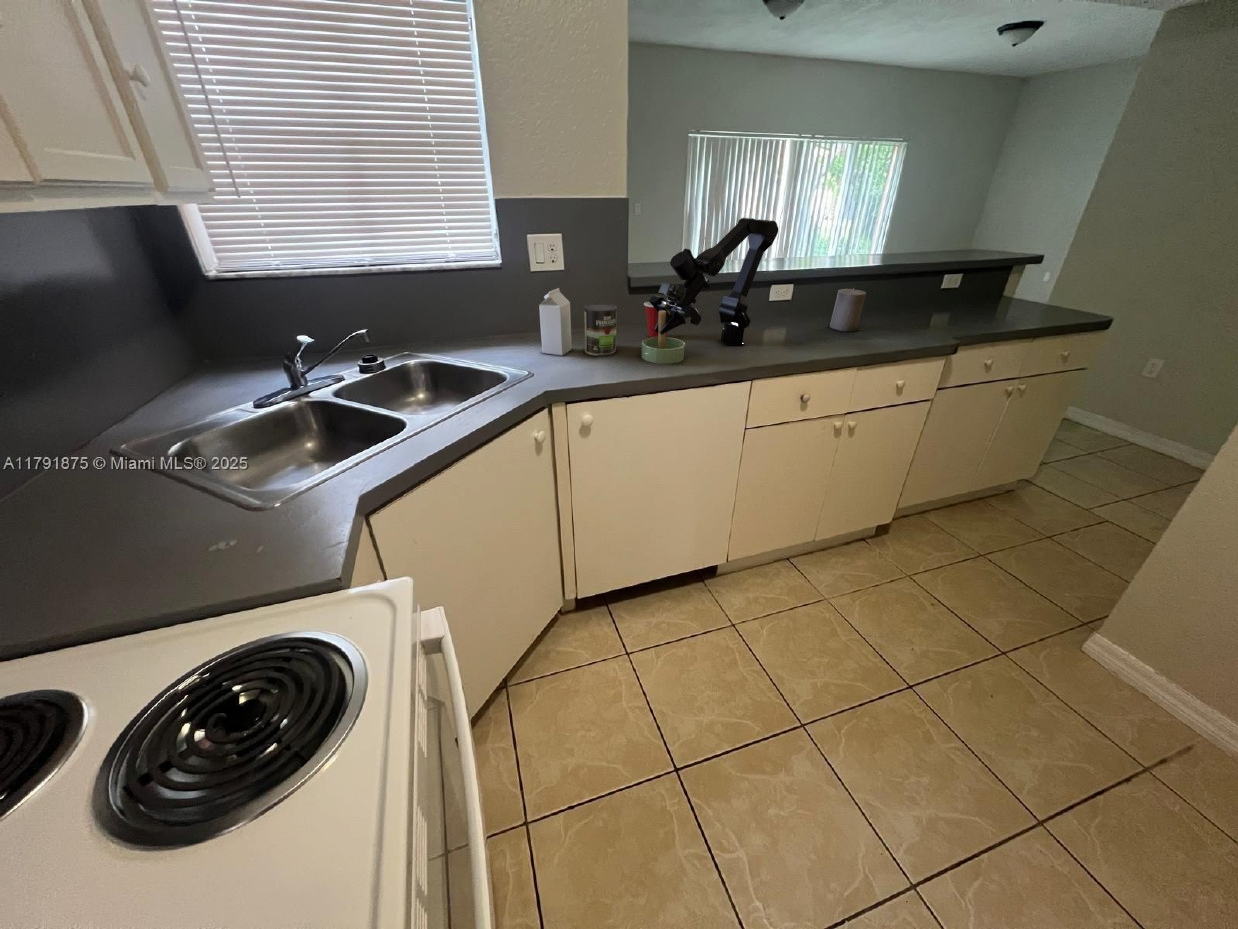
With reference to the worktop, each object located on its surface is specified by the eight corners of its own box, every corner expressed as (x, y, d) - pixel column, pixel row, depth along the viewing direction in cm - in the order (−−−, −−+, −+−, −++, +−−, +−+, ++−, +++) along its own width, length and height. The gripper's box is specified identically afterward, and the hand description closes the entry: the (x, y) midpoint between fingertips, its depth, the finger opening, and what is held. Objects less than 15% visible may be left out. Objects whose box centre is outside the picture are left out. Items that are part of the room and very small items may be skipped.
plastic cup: (672, 334, 176) (675, 299, 170) (672, 342, 167) (675, 306, 161) (643, 332, 177) (644, 298, 171) (641, 341, 167) (642, 305, 161)
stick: (668, 352, 153) (669, 308, 145) (670, 358, 149) (672, 313, 141) (652, 353, 153) (652, 309, 145) (654, 359, 149) (655, 314, 141)
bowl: (679, 351, 158) (680, 336, 155) (687, 365, 147) (688, 349, 144) (638, 352, 157) (639, 336, 154) (644, 366, 146) (644, 349, 143)
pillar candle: (853, 326, 190) (864, 286, 183) (858, 332, 182) (869, 291, 174) (827, 324, 192) (837, 284, 184) (831, 330, 184) (841, 289, 176)
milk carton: (571, 349, 158) (569, 288, 148) (562, 356, 152) (559, 293, 142) (551, 347, 160) (548, 286, 150) (542, 353, 154) (538, 291, 144)
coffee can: (621, 353, 155) (622, 308, 148) (592, 358, 151) (592, 311, 144) (607, 344, 163) (608, 301, 156) (579, 348, 159) (578, 304, 152)
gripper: (655, 267, 147) (625, 308, 147) (698, 277, 134) (664, 322, 134) (673, 291, 155) (644, 331, 155) (715, 303, 142) (683, 346, 142)
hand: (658, 332), depth 146 cm, fingers closed on stick, 2 cm apart
